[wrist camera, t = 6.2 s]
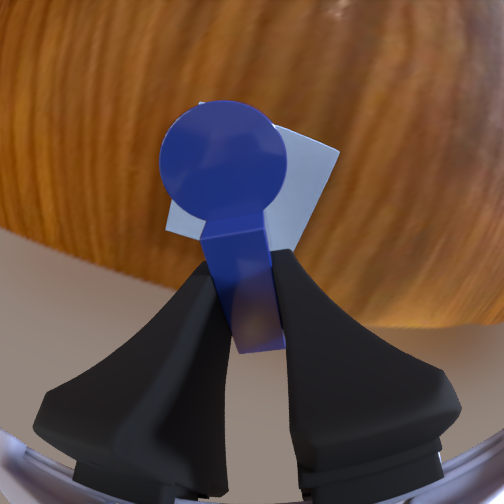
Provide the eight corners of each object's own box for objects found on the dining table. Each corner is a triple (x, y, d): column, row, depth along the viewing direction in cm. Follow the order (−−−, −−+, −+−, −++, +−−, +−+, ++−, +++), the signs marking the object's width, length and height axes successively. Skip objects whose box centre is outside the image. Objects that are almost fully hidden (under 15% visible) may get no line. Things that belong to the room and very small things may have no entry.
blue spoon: (301, 294, 12) (311, 345, 10) (222, 304, 12) (215, 356, 10) (271, 91, 8) (278, 87, 5) (166, 115, 8) (129, 124, 6)
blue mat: (338, 150, 12) (340, 152, 12) (285, 263, 16) (285, 266, 16) (201, 101, 11) (199, 101, 11) (167, 227, 15) (165, 230, 14)
